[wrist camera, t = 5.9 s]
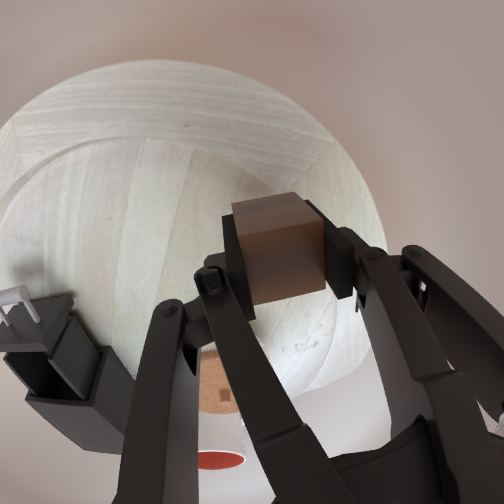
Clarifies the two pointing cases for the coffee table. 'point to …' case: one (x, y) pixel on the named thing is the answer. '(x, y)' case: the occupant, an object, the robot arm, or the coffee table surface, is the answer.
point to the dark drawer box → (94, 408)
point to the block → (280, 246)
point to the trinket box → (216, 383)
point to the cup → (220, 441)
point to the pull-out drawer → (47, 346)
